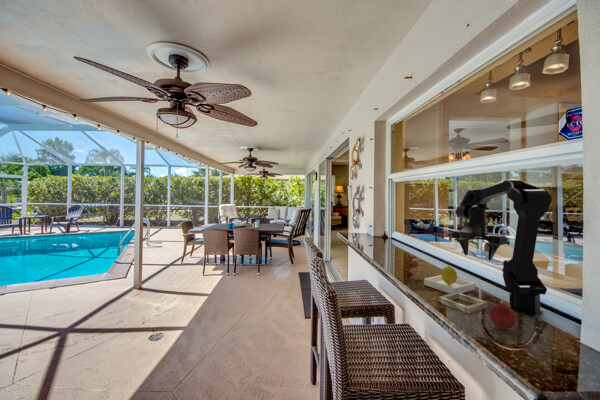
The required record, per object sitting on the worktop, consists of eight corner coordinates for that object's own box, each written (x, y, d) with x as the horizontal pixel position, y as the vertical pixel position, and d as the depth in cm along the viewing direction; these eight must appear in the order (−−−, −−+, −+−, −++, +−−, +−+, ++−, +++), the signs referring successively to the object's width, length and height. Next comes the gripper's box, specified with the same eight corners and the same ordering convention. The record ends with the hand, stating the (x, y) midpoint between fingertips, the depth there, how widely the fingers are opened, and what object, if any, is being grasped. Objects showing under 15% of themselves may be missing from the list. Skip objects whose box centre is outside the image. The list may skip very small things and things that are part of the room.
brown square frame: (487, 307, 83) (487, 302, 83) (468, 314, 78) (468, 308, 78) (457, 296, 92) (457, 291, 92) (438, 301, 88) (438, 296, 88)
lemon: (460, 287, 99) (460, 267, 99) (446, 287, 99) (446, 267, 99) (452, 283, 105) (452, 264, 105) (438, 282, 105) (438, 264, 105)
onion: (518, 337, 65) (518, 307, 65) (491, 331, 68) (491, 302, 68) (514, 327, 70) (513, 299, 70) (488, 322, 73) (488, 295, 73)
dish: (475, 289, 99) (475, 283, 99) (454, 295, 93) (454, 288, 93) (444, 280, 111) (444, 274, 111) (424, 284, 105) (424, 278, 105)
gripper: (442, 219, 107) (443, 255, 107) (490, 223, 90) (491, 265, 90) (459, 218, 112) (459, 252, 112) (507, 221, 95) (508, 261, 95)
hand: (477, 257), depth 102 cm, fingers open, 9 cm apart
